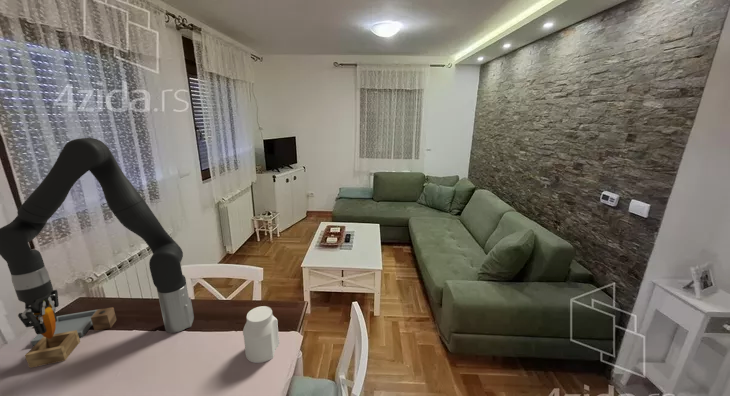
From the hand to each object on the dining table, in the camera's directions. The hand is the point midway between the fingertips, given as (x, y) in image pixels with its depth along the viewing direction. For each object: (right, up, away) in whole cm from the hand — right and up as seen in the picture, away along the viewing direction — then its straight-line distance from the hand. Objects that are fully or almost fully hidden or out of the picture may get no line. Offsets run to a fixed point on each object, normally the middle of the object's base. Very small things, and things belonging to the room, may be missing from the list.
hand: (47, 327), depth 95 cm
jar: (+70, -11, +6) cm, 71 cm away
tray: (-8, -7, +15) cm, 18 cm away
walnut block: (+4, -7, +17) cm, 19 cm away
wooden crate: (0, -10, +3) cm, 11 cm away
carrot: (0, -4, +1) cm, 5 cm away
